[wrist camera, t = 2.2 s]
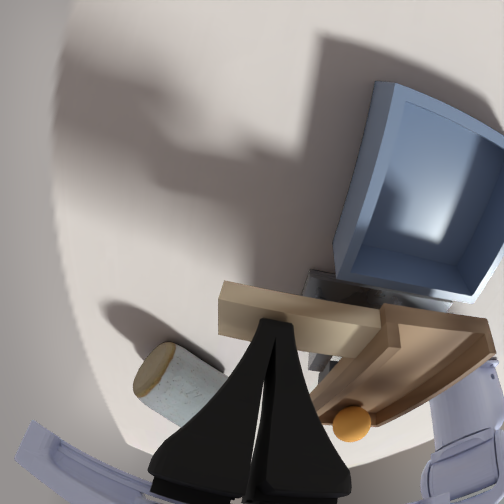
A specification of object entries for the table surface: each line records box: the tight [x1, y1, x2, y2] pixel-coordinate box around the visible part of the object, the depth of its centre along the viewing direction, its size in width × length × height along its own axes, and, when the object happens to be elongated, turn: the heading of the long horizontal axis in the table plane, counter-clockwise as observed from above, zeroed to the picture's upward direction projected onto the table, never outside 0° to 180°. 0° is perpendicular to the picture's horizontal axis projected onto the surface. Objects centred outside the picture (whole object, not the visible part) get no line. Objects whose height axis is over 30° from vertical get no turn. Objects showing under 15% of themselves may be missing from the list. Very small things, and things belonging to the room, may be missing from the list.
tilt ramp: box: [218, 281, 496, 427], centre depth 16 cm, size 14×14×5 cm
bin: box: [332, 81, 504, 304], centre depth 13 cm, size 10×10×4 cm
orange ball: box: [333, 406, 371, 442], centre depth 18 cm, size 3×3×3 cm
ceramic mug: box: [133, 342, 228, 427], centre depth 26 cm, size 11×8×8 cm
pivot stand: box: [301, 269, 453, 372], centre depth 18 cm, size 12×6×5 cm, turn 83°
